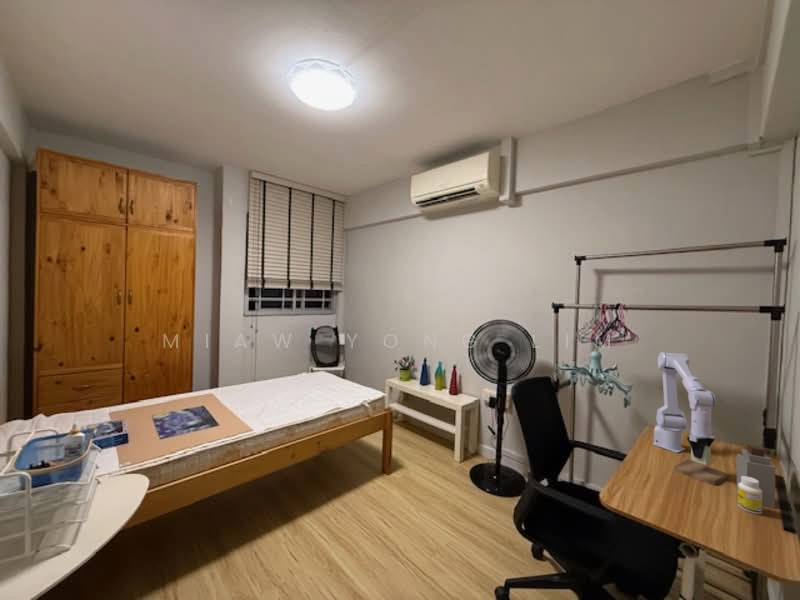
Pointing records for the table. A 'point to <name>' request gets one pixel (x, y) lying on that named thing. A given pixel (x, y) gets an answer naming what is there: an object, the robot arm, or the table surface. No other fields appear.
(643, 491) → the table surface
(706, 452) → the sage block
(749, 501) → the supplement bottle
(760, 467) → the grey tall open box
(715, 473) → the walnut base
